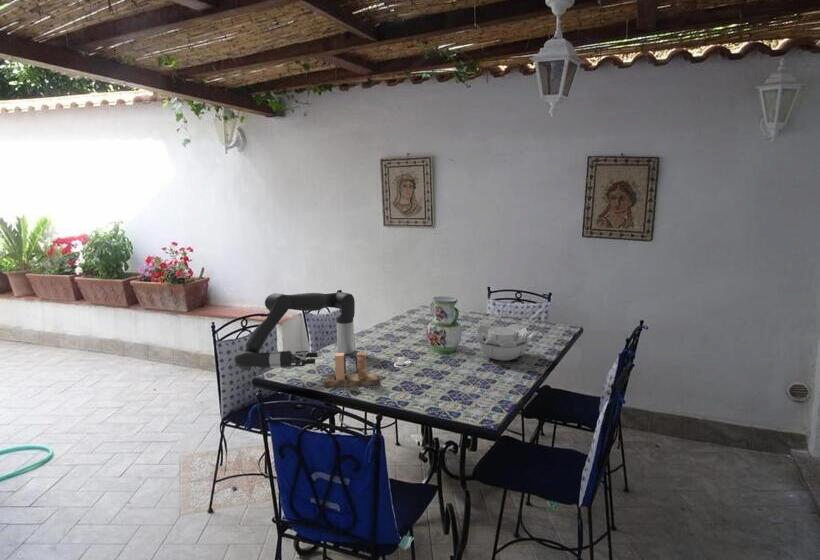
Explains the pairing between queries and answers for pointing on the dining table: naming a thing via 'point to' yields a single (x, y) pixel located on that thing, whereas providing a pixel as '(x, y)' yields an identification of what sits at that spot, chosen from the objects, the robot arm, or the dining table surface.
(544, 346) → the dining table surface
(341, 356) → the tall tan pillar block
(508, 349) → the decorative bowl
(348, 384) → the rail
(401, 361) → the teacup and saucer
